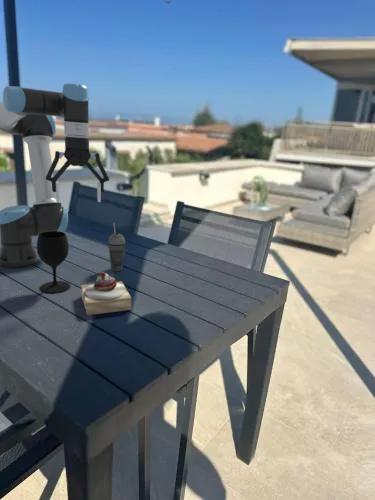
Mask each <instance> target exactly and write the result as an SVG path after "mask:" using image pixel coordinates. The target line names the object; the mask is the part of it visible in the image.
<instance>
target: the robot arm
mask: <svg viewBox="0 0 375 500" xmlns="http://www.w3.org/2000/svg"><path fill="white" fill-rule="evenodd" d="M89 100H90V99H89V89H88V88H87V86H86V85H84V84H80V83H64V84H63V85H62V92H59V91H53V90H52V91H49V90H44V89H43V90H42V89H35V88H28V87H20V86H17V85H16V86H15V85H14V86H9V85H8V86H7V85H6V86H5V87H4V88H3V92H2V102H0V131H1V132H4V133H5V134H10V135H15V136H16V135H17V136H22V141H23V142H24V143H26V144H27V149H28V150H27V151H28V156H29V163H30V170H31V176H32V183H33V191H34V197H35V201H34V202H33V204H32V208H30V206H28V205H26V204H22V205H12V206H8V207H7V206H6V207H5V208H2V209H1V210H0V244H1V245H0V267H3V268H10V269H11V268H12V269H13V268H14V269H15V268H25V267H29V266H33V265H35V264H36V263H37V262H38V261H39V259H38V258H39V256H38V252H37V250H36V249H35V246H34V245H33V239H32V238H33V237H38V236H39V234H40V233H43V232H49V231H59V232H63V233H65V231H66V229H67V227H68V223H69V215H68V210H67V208H66V207H65V206H62V202H61V201H60V190H59V188H60V187H59V181H58V180H59V178H60V177H61V176H62V175H63V174H64V172H65V171H66V170H67V169H68V168H69V167H70V166H73V167H85V166H86V167H87V168H88V169H89V171H90V172H91V174H93V176H95V178H96V179H97V180H98V181H97V182H96V189H97V191H96V193H97V195H96V196H97V197H96V199H97V202H98V203H101V202H102V193H104V191H105V189H104V188H105V185H104V184H105V183H106V182H109V181H110V178H109V175H108V173H107V171H106V170H105V168H104V166H103V164H102V162H101V158H100V154H99V152H94V153H91V152H90V139H89V138H88V137H89V135H90V131H89V129H90V128H89V127H90V125H89V120H90V119H89ZM54 117H58V118H63V122H64V123H63V124H64V125H63V126H64V127H63V128H64V135H65V137H64V152H63V151H58V150H55V152H54V159H53V160H52V155H51V147H50V143H51V142H52V141H53V137H54V136H55V135H56V131H57V130H56V127H57V126H56V121H55V118H54ZM63 157H64V158H65V159H66V161H65V162H64V164H63V165H62V166H61V167H60V169H58V170H57V172H56V173H55V174H54V172H55V169H56V168H57V165H58V163H59V160H60V159H62V158H63ZM91 158H92V160H94V161H95V163H96V165H97V166H98V169H99V171H100V172H101V174H102V176H103V177H102V176H101V175H100V174H99V173H98V171H97V170H95V168H94V167H93V166H92V165H91V164H90V162H89V160H90V159H91Z"/></svg>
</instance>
